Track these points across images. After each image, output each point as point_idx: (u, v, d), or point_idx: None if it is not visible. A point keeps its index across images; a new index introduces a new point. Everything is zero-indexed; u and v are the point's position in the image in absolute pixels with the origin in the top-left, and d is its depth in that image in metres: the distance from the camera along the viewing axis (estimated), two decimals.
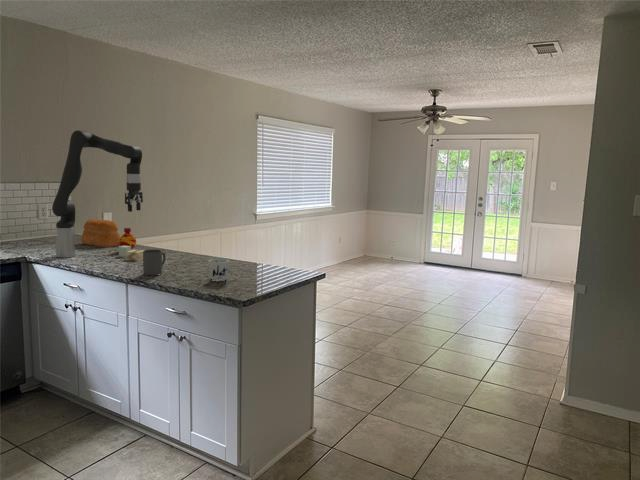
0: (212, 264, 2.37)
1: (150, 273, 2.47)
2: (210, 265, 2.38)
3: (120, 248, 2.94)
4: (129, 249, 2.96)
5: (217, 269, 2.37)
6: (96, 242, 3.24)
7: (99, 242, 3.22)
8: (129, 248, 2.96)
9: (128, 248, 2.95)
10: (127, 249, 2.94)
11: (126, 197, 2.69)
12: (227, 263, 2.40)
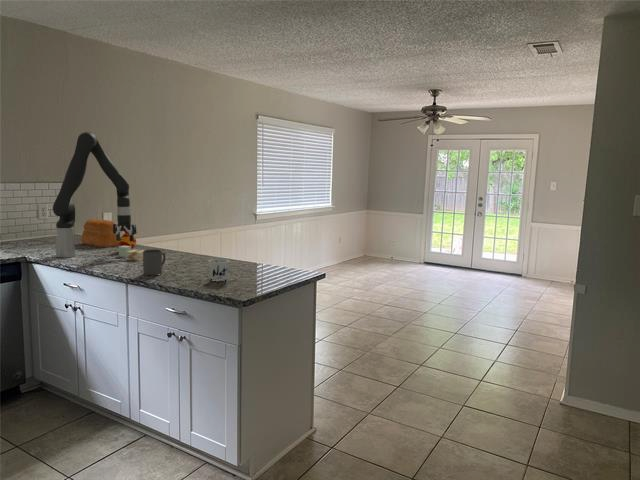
0: (212, 264, 2.37)
1: (150, 273, 2.47)
2: (210, 265, 2.38)
3: (120, 248, 2.94)
4: (129, 249, 2.96)
5: (217, 269, 2.37)
6: (96, 242, 3.24)
7: (99, 242, 3.22)
8: (129, 248, 2.96)
9: (128, 248, 2.95)
10: (127, 249, 2.94)
11: (134, 228, 2.92)
12: (227, 263, 2.40)
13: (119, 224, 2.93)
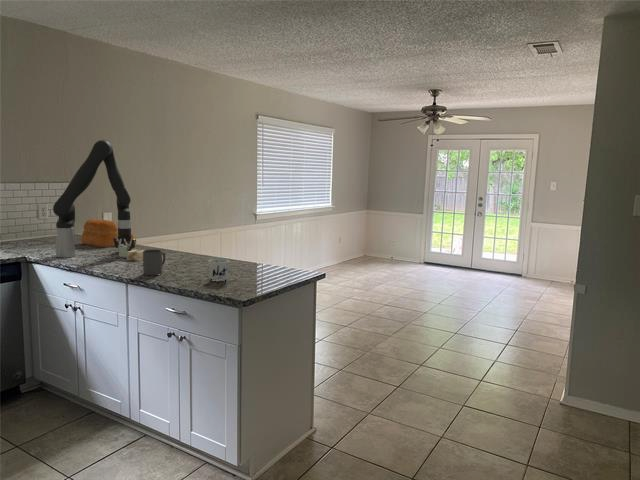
0: (212, 264, 2.37)
1: (150, 273, 2.47)
2: (210, 265, 2.38)
3: (120, 248, 2.94)
4: None
5: (217, 269, 2.37)
6: (95, 242, 3.24)
7: (98, 242, 3.22)
8: None
9: None
10: (127, 249, 2.94)
11: (133, 243, 2.94)
12: (227, 263, 2.40)
13: (119, 237, 2.94)
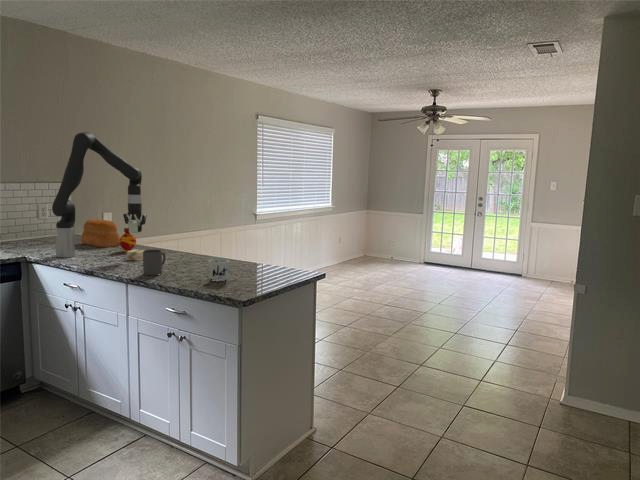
0: (212, 264, 2.37)
1: (150, 273, 2.47)
2: (210, 265, 2.38)
3: (130, 224, 2.83)
4: None
5: (217, 269, 2.37)
6: (95, 242, 3.24)
7: (98, 242, 3.22)
8: None
9: None
10: (137, 225, 2.84)
11: (144, 219, 2.84)
12: (227, 263, 2.40)
13: (129, 212, 2.84)
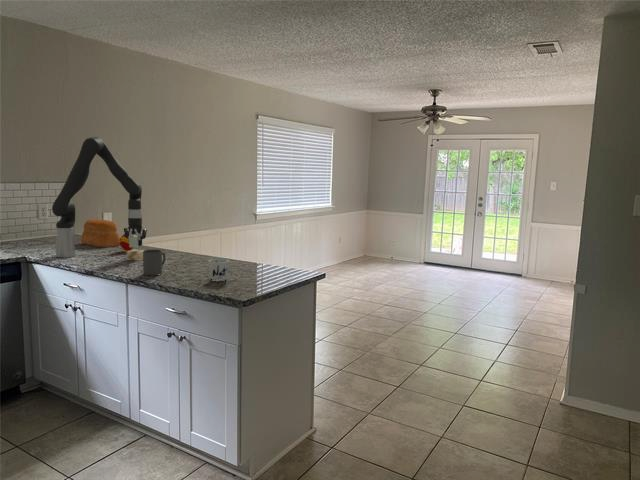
0: (212, 264, 2.37)
1: (150, 273, 2.47)
2: (210, 265, 2.38)
3: (131, 238, 2.85)
4: None
5: (217, 269, 2.37)
6: (95, 242, 3.23)
7: (98, 242, 3.22)
8: None
9: None
10: (138, 239, 2.85)
11: (144, 233, 2.85)
12: (227, 263, 2.40)
13: (129, 227, 2.85)
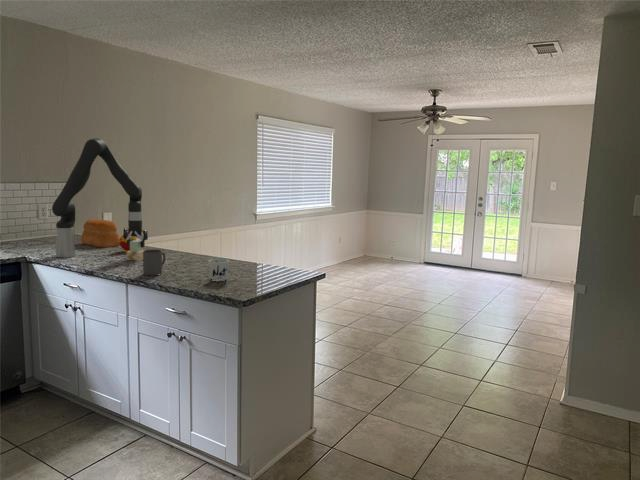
0: (212, 264, 2.37)
1: (150, 273, 2.47)
2: (210, 265, 2.38)
3: (131, 243, 2.85)
4: (140, 244, 2.88)
5: (217, 269, 2.37)
6: (95, 242, 3.23)
7: (98, 242, 3.22)
8: (140, 243, 2.88)
9: (139, 242, 2.87)
10: (138, 244, 2.86)
11: (146, 234, 2.85)
12: (227, 263, 2.40)
13: (130, 229, 2.86)
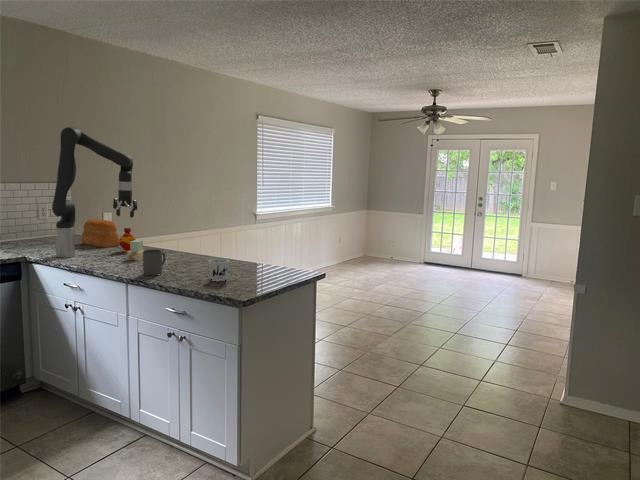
0: (212, 264, 2.37)
1: (150, 273, 2.47)
2: (210, 265, 2.38)
3: (132, 243, 2.85)
4: (141, 244, 2.88)
5: (217, 269, 2.37)
6: (95, 242, 3.23)
7: (97, 242, 3.22)
8: (141, 243, 2.88)
9: (140, 242, 2.87)
10: (139, 244, 2.86)
11: (135, 204, 2.86)
12: (227, 263, 2.40)
13: (120, 199, 2.87)
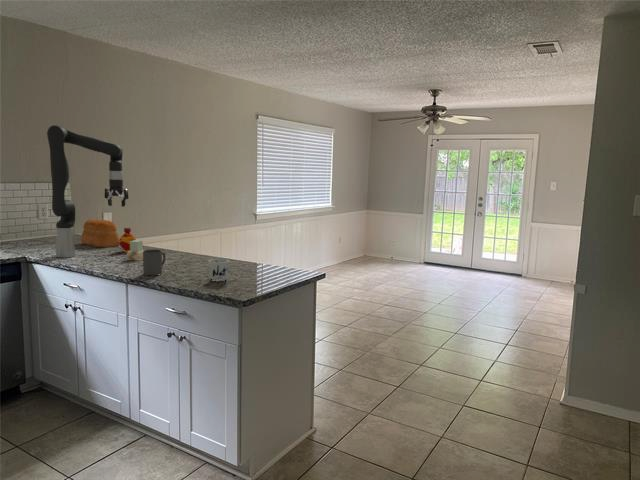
0: (212, 264, 2.37)
1: (150, 273, 2.47)
2: (210, 265, 2.38)
3: (131, 243, 2.86)
4: (140, 244, 2.88)
5: (217, 269, 2.37)
6: (94, 242, 3.23)
7: (97, 242, 3.22)
8: (140, 243, 2.88)
9: (139, 242, 2.87)
10: (138, 244, 2.86)
11: (126, 193, 2.89)
12: (227, 263, 2.40)
13: (111, 189, 2.90)
